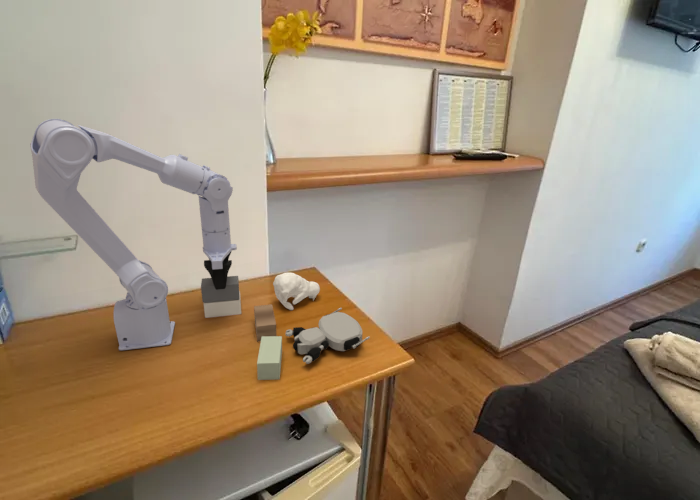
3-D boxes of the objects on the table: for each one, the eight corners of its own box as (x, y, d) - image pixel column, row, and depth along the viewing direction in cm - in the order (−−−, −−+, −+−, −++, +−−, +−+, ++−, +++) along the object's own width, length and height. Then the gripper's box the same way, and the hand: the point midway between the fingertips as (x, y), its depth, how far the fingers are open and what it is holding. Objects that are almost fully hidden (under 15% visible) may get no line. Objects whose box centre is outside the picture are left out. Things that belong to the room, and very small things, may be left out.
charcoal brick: (202, 302, 87) (200, 287, 85) (203, 293, 90) (201, 278, 88) (239, 299, 89) (238, 283, 87) (239, 290, 92) (238, 275, 91)
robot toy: (306, 377, 74) (371, 350, 81) (304, 358, 72) (372, 333, 79) (283, 341, 84) (343, 320, 90) (281, 324, 82) (343, 304, 88)
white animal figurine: (271, 270, 93) (315, 264, 100) (269, 301, 96) (311, 293, 103) (282, 281, 88) (327, 274, 95) (279, 313, 91) (323, 305, 98)
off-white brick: (205, 318, 88) (203, 303, 87) (205, 309, 92) (204, 294, 90) (241, 314, 91) (240, 300, 89) (240, 305, 94) (240, 291, 92)
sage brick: (279, 380, 72) (279, 363, 70) (257, 380, 71) (256, 363, 70) (282, 352, 79) (281, 336, 78) (262, 352, 79) (261, 336, 77)
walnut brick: (276, 339, 83) (276, 324, 81) (257, 342, 82) (256, 326, 80) (272, 319, 90) (272, 304, 88) (254, 321, 89) (254, 306, 87)
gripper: (236, 239, 77) (239, 298, 83) (234, 215, 90) (238, 268, 95) (198, 241, 75) (204, 301, 81) (202, 217, 88) (207, 270, 94)
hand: (220, 283), depth 88 cm, fingers closed on charcoal brick, 4 cm apart
